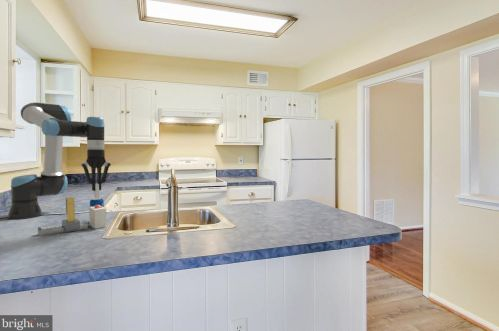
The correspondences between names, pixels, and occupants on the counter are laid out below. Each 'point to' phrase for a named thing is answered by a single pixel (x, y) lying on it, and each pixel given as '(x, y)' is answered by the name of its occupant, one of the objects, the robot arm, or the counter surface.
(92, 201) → the beverage can
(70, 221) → the carriage
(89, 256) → the counter surface
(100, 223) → the end cabinet
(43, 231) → the rail
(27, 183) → the robot arm
